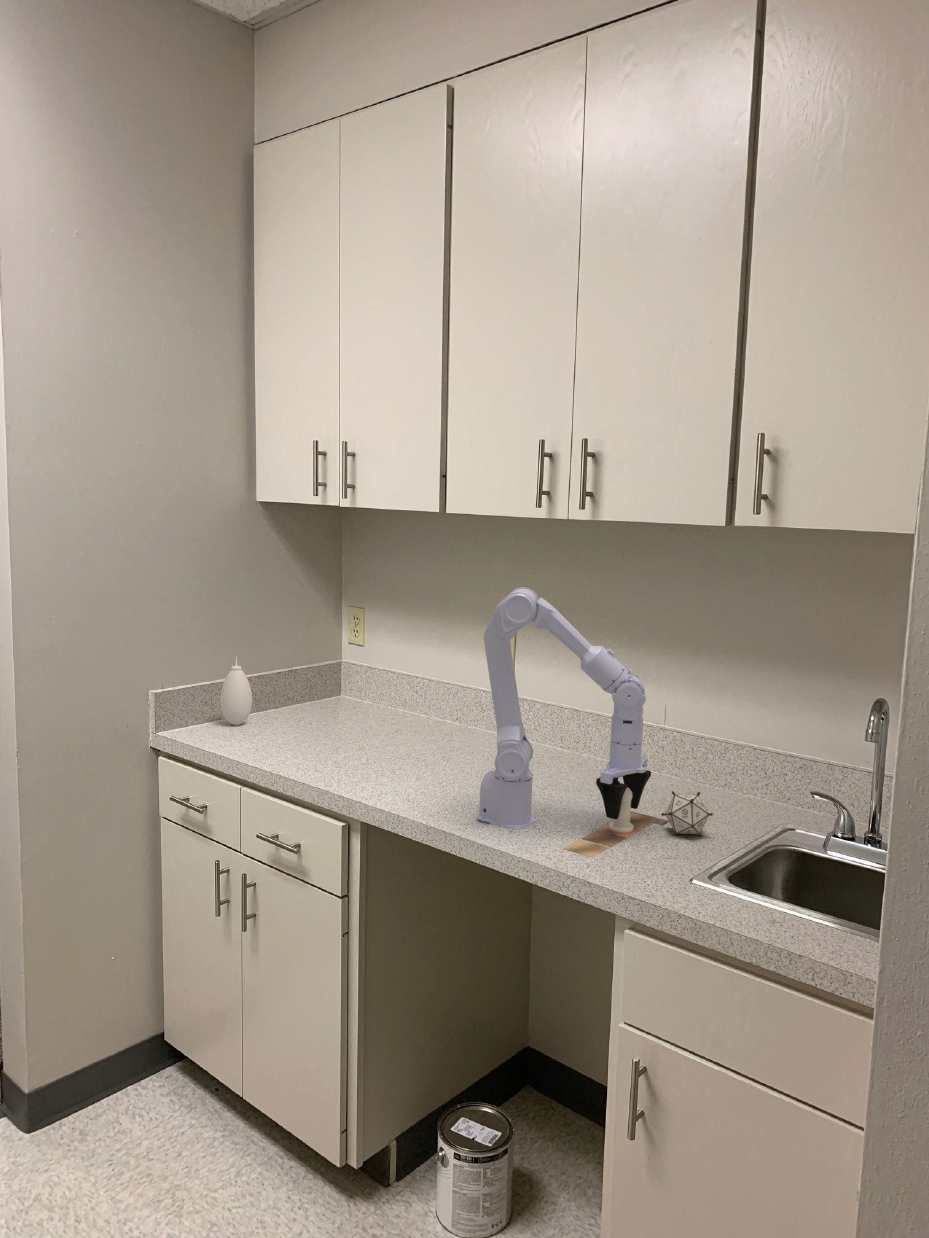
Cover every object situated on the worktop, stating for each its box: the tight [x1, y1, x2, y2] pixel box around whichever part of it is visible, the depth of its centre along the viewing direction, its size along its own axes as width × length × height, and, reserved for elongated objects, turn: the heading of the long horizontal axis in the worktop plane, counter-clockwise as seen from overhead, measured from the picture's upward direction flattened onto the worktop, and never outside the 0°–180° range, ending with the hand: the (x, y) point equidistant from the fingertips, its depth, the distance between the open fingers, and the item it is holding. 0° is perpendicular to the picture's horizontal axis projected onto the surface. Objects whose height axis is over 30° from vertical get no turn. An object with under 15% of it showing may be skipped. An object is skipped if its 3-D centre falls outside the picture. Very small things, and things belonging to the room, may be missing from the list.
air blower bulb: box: [220, 656, 253, 726], centre depth 243 cm, size 8×8×18 cm
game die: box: [660, 790, 714, 837], centre depth 173 cm, size 9×8×10 cm
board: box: [562, 810, 669, 859], centre depth 172 cm, size 9×28×1 cm, turn 143°
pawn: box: [608, 787, 634, 833], centre depth 174 cm, size 4×4×8 cm
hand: (622, 812), depth 175 cm, fingers open, 7 cm apart
